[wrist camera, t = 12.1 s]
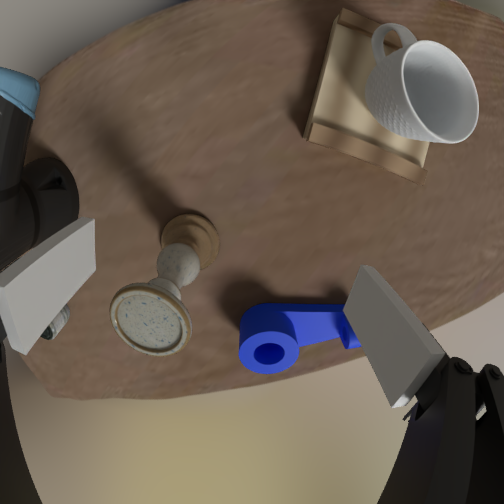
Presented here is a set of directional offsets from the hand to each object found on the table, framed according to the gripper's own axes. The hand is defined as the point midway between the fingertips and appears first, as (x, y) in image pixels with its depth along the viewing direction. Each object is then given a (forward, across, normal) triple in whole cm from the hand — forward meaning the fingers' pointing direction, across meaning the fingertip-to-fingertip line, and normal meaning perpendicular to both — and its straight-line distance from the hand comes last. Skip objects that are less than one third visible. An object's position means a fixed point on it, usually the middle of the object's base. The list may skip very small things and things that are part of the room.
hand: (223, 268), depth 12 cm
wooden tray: (+26, +17, +17) cm, 36 cm away
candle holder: (+27, -5, -10) cm, 29 cm away
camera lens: (+28, -32, -30) cm, 51 cm away
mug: (+23, +17, +18) cm, 34 cm away
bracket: (+26, +15, -21) cm, 37 cm away
